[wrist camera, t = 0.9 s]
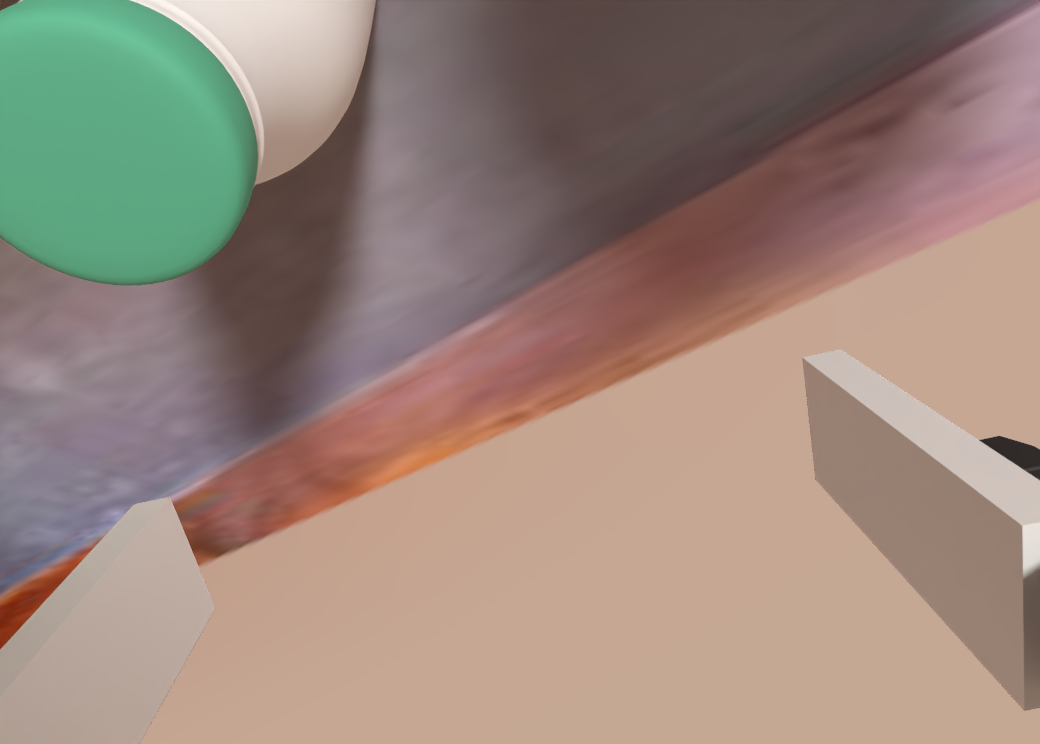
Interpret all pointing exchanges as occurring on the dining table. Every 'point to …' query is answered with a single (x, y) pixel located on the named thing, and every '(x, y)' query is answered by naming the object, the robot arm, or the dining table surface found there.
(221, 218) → the milk bottle
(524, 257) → the dining table surface
